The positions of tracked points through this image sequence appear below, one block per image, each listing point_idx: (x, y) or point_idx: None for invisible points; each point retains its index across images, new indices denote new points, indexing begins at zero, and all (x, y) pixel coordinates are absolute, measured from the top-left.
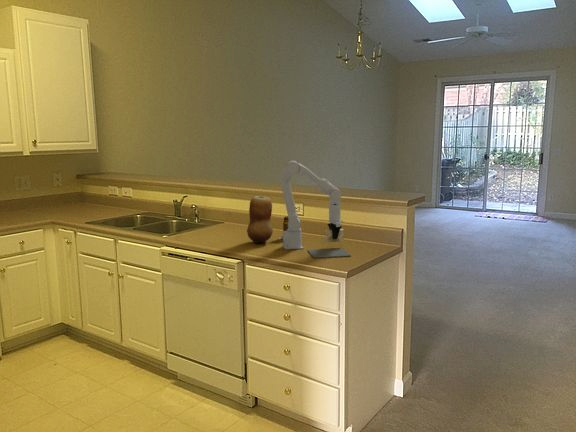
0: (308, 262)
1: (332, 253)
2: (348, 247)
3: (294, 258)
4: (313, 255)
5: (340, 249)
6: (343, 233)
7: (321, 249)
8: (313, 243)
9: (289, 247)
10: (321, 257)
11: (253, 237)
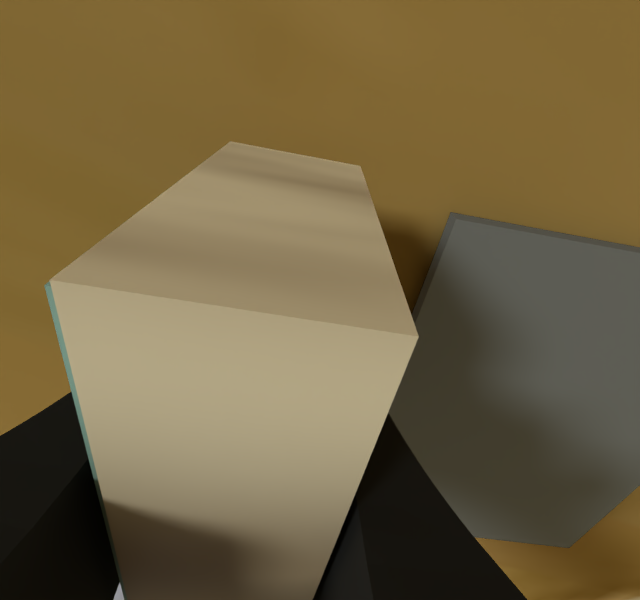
0: (616, 575)
1: (587, 423)
2: (374, 33)
3: None
4: (522, 538)
5: (497, 281)
6: (384, 263)
7: None
8: (26, 393)
9: None
10: (599, 510)
11: None
